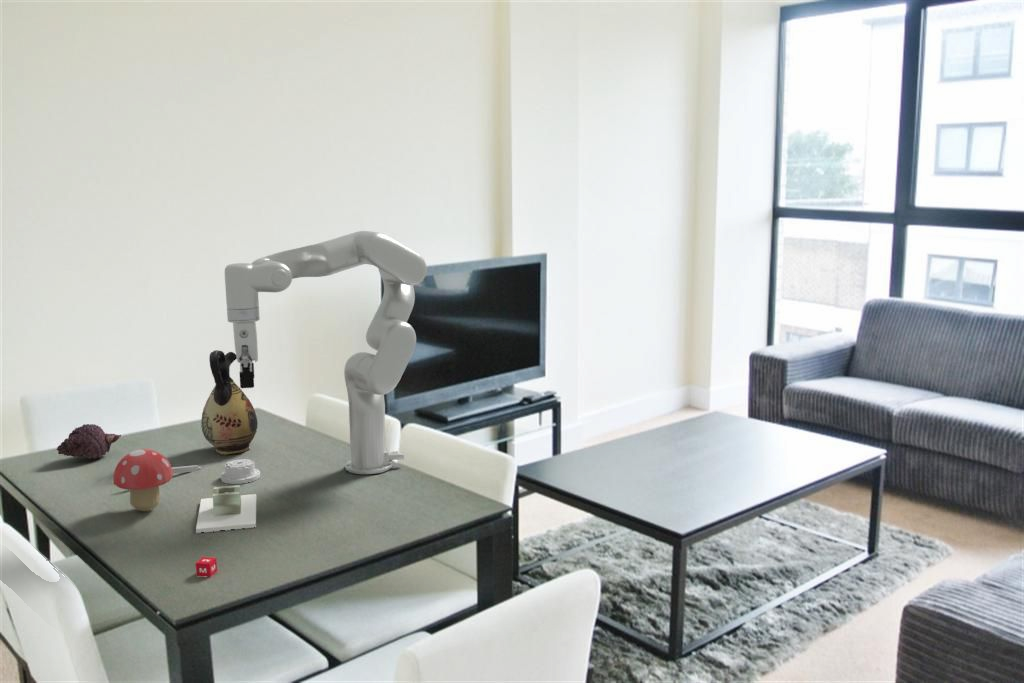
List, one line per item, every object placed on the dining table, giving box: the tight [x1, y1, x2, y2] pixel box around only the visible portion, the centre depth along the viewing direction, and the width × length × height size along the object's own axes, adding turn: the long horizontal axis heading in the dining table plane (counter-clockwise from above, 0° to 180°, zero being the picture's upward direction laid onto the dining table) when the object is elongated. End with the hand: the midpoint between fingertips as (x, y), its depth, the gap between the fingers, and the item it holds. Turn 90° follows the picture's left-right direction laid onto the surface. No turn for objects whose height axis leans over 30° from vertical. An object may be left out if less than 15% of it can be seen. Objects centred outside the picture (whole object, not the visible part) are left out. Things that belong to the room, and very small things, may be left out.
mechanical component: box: [220, 458, 261, 485], centre depth 252 cm, size 10×4×10 cm
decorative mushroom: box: [112, 448, 174, 512], centre depth 228 cm, size 13×13×15 cm
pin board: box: [195, 492, 257, 534], centre depth 226 cm, size 13×20×6 cm, turn 14°
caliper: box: [172, 465, 203, 475], centre depth 252 cm, size 20×1×6 cm, turn 145°
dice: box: [195, 556, 218, 578], centre depth 195 cm, size 3×3×3 cm
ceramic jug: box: [200, 349, 259, 456], centre depth 273 cm, size 17×15×30 cm
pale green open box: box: [212, 484, 242, 516], centre depth 226 cm, size 6×6×5 cm
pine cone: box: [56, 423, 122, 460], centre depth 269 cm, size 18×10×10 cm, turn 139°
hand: (247, 383), depth 236 cm, fingers open, 9 cm apart
